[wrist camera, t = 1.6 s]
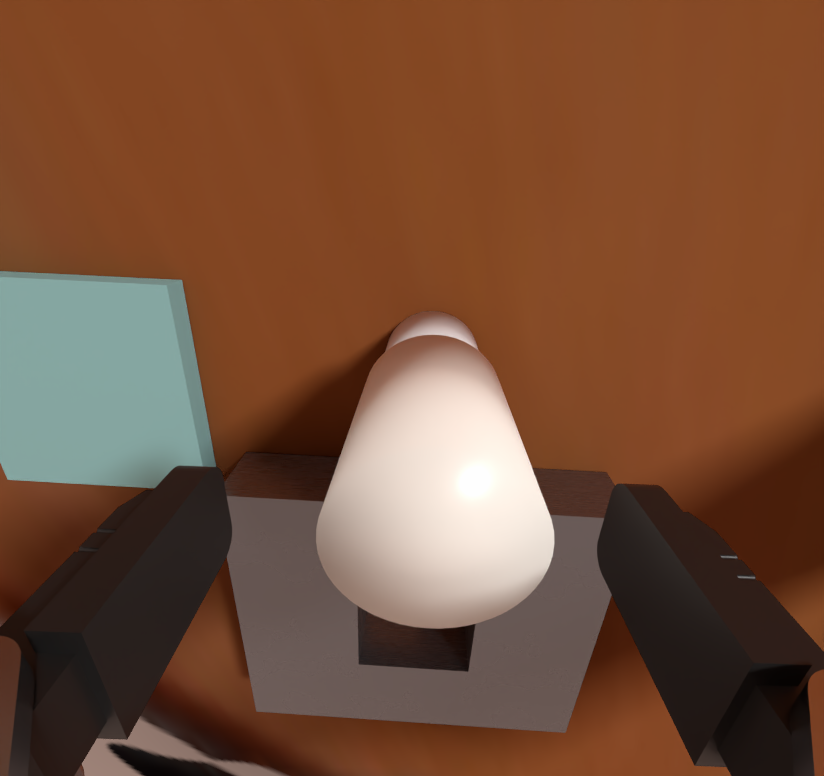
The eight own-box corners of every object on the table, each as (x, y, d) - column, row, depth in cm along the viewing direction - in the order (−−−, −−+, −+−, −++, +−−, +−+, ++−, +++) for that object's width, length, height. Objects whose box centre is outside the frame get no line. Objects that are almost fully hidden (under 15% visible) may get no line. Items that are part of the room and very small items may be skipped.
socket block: (606, 472, 18) (637, 519, 16) (550, 672, 24) (565, 732, 21) (246, 451, 19) (214, 495, 16) (275, 654, 25) (256, 711, 22)
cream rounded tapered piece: (491, 305, 16) (576, 455, 7) (479, 406, 17) (533, 634, 8) (378, 300, 16) (308, 440, 7) (378, 400, 17) (322, 621, 8)
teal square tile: (181, 280, 16) (166, 284, 15) (218, 477, 19) (207, 491, 18) (-54, 268, 16) (-83, 272, 15) (27, 466, 20) (7, 479, 19)
